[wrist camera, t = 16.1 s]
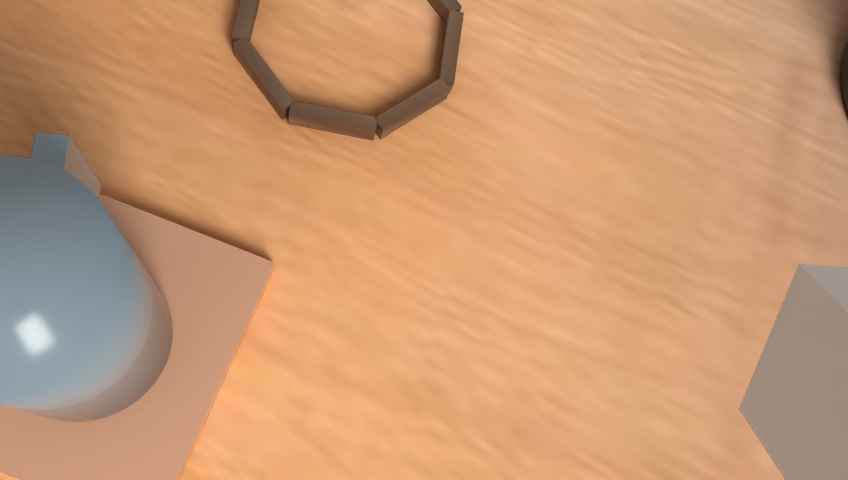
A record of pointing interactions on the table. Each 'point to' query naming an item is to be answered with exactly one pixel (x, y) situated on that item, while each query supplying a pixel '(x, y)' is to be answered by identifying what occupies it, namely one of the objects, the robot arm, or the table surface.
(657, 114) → the table surface
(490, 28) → the table surface
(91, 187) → the grey canister
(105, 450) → the terracotta tile
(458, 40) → the walnut collar
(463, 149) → the table surface
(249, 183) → the table surface
